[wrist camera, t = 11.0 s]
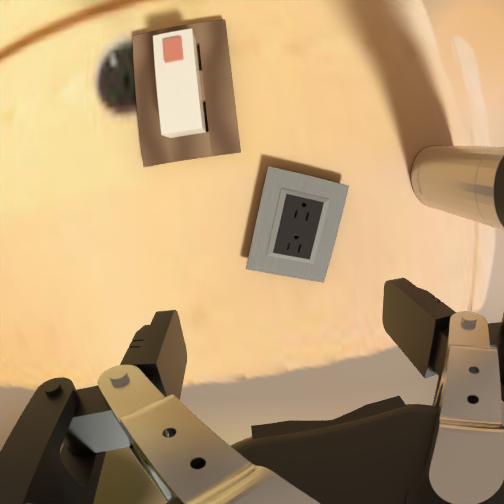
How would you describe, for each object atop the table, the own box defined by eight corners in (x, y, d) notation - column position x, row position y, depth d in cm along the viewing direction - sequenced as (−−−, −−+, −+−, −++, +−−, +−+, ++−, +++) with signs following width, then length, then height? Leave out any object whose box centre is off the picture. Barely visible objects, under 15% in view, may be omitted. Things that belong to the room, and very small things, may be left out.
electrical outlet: (266, 165, 40) (268, 166, 38) (343, 184, 41) (349, 186, 39) (245, 264, 43) (246, 269, 41) (319, 277, 44) (324, 283, 42)
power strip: (197, 47, 35) (191, 26, 28) (206, 133, 38) (202, 127, 31) (163, 53, 34) (151, 34, 28) (172, 139, 38) (160, 134, 31)
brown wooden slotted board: (225, 24, 34) (225, 19, 32) (240, 152, 39) (240, 152, 37) (135, 39, 34) (132, 36, 32) (146, 166, 38) (143, 166, 37)
